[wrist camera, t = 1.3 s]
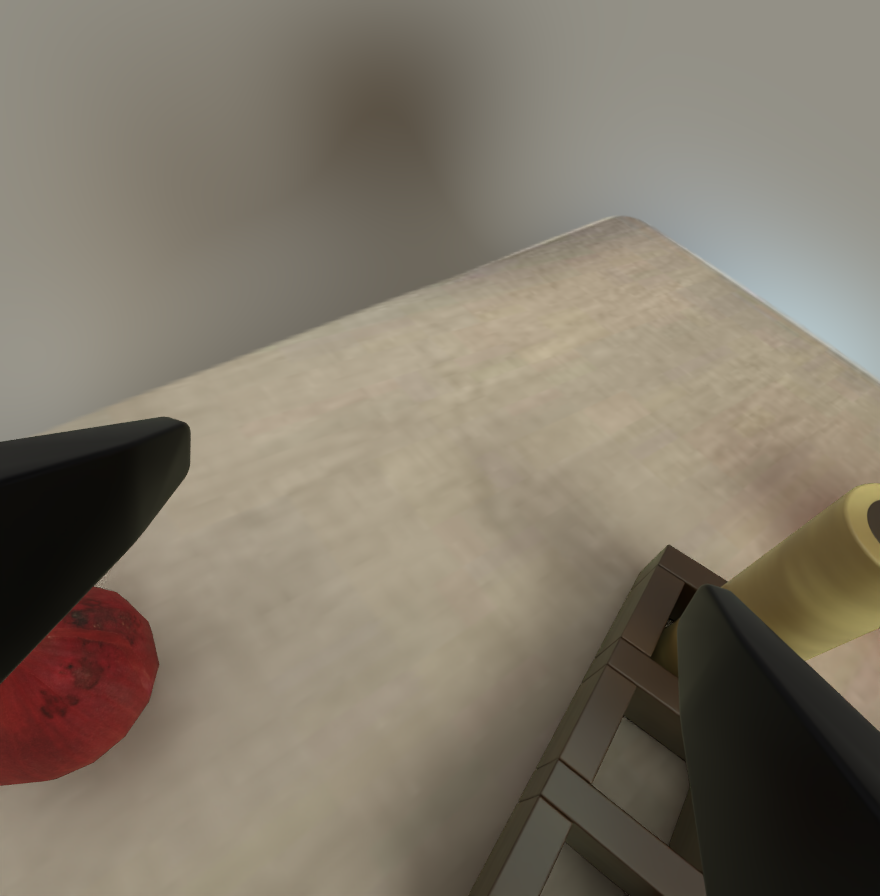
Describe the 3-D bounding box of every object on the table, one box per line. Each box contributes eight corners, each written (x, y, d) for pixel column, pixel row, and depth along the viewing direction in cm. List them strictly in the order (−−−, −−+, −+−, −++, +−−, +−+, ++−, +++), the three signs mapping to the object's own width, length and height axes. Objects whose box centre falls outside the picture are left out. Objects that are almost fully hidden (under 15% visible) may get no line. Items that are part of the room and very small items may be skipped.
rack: (617, 1137, 16) (664, 1187, 13) (433, 959, 17) (446, 974, 15) (770, 657, 25) (814, 635, 23) (640, 571, 27) (668, 543, 24)
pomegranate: (161, 602, 23) (89, 502, 17) (197, 740, 20) (128, 683, 14) (-5, 667, 21) (-160, 580, 14) (11, 832, 18) (-173, 814, 12)
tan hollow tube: (727, 704, 23) (1005, 587, 14) (659, 715, 23) (897, 600, 13) (696, 629, 25) (919, 477, 15) (632, 637, 25) (821, 485, 15)
